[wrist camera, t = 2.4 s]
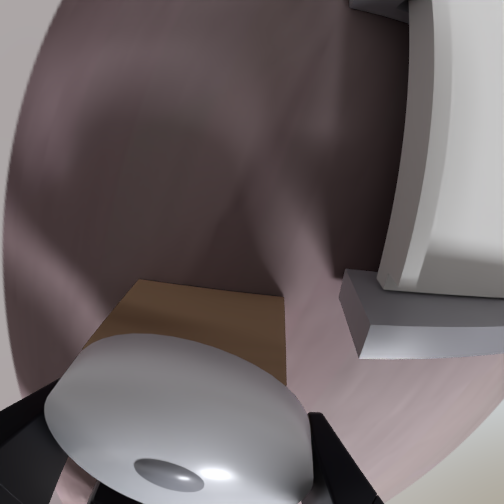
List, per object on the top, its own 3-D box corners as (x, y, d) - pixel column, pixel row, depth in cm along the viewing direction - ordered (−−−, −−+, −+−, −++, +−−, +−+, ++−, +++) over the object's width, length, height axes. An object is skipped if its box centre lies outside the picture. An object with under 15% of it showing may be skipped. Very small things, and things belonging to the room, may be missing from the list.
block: (266, 397, 12) (261, 478, 8) (151, 380, 12) (120, 451, 8) (284, 296, 10) (286, 385, 6) (139, 279, 10) (81, 348, 7)
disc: (286, 490, 9) (285, 527, 7) (103, 456, 9) (89, 487, 7) (341, 354, 6) (355, 414, 4) (43, 307, 6) (4, 344, 5)
